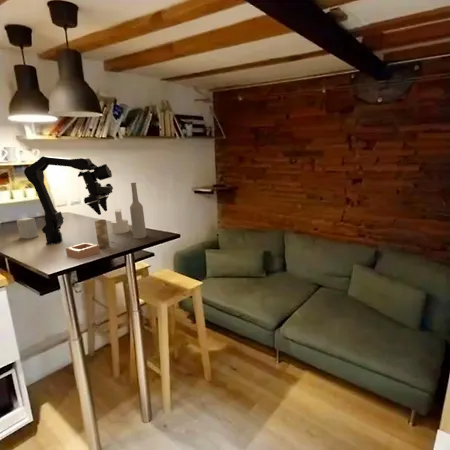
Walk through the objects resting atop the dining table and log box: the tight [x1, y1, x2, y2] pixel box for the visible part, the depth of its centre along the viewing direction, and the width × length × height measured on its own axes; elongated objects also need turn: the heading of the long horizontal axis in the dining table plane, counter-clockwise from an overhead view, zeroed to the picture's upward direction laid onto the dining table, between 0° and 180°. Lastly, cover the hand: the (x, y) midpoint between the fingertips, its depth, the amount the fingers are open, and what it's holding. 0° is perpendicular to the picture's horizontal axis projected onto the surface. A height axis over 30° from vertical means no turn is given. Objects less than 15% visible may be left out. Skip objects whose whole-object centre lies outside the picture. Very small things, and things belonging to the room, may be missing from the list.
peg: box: [94, 219, 111, 250], centre depth 157 cm, size 5×5×13 cm
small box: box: [16, 217, 39, 240], centre depth 186 cm, size 8×6×10 cm
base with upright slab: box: [110, 208, 130, 235], centre depth 186 cm, size 9×9×12 cm
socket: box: [65, 241, 101, 260], centre depth 150 cm, size 10×10×4 cm
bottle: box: [129, 182, 147, 240], centre depth 170 cm, size 7×7×28 cm
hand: (103, 212), depth 169 cm, fingers open, 9 cm apart
